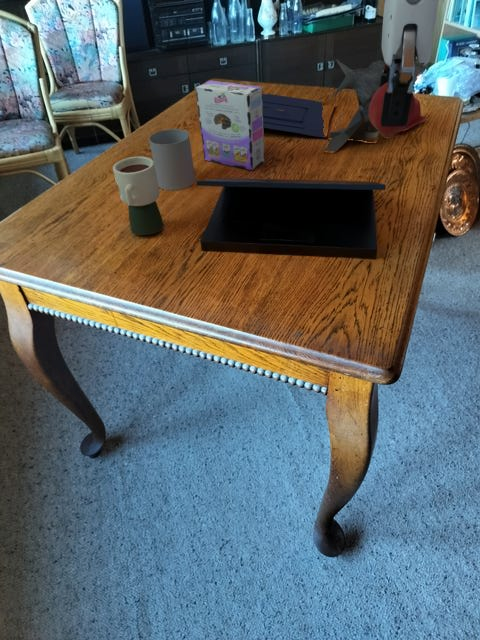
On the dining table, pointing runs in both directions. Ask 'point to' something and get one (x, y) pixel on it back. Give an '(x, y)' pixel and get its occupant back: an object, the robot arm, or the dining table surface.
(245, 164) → the candy box
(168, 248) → the dining table surface
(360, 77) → the narwhal figurine
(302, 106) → the dark blue tray
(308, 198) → the laptop
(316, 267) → the dining table surface
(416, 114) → the butter dish
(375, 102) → the onion
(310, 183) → the laptop screen
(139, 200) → the character mug
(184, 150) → the cup
